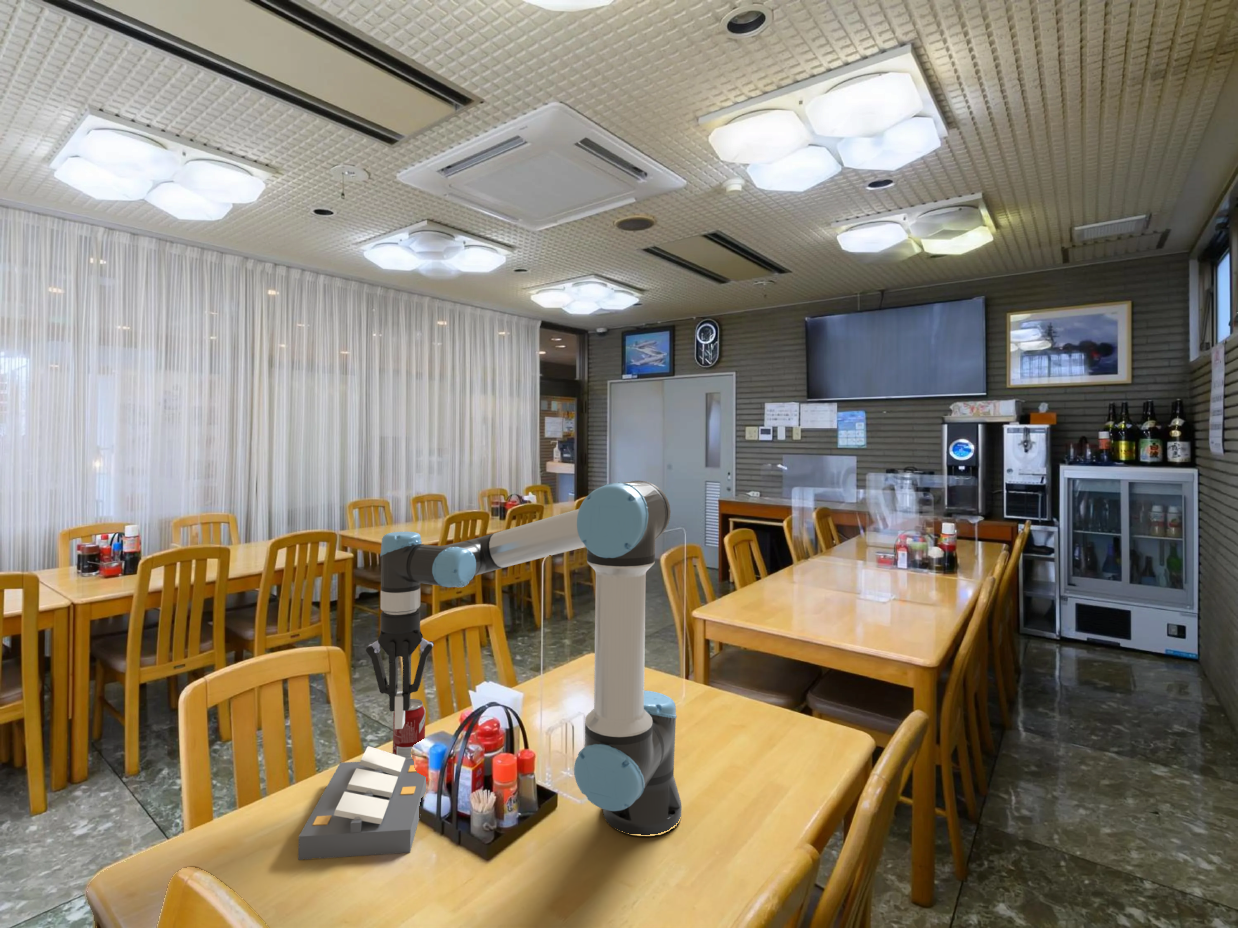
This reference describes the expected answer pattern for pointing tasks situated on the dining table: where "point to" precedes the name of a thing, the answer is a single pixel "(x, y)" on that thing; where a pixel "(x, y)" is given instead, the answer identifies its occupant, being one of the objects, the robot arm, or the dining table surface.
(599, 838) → the dining table surface
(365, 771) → the middle switch
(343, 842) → the switch unit
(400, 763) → the far switch
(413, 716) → the soda can
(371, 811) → the near switch
